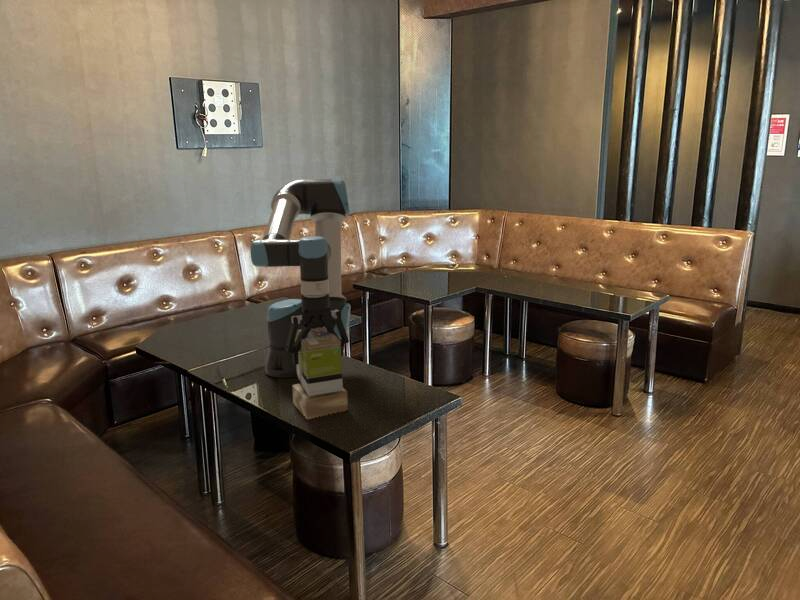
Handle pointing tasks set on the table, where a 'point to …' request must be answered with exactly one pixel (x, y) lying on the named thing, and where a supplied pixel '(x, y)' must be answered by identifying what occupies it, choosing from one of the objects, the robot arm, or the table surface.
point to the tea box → (321, 362)
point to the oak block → (319, 402)
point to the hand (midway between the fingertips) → (318, 371)
